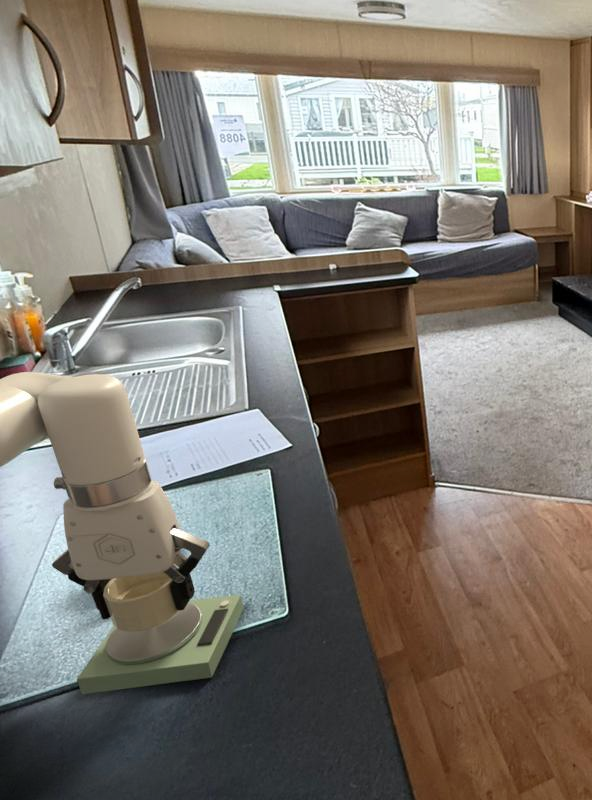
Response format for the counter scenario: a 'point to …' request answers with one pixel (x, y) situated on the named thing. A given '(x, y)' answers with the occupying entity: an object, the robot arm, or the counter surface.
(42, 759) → the counter surface
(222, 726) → the counter surface
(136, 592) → the bowl
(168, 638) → the platform
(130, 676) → the scale
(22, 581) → the counter surface
